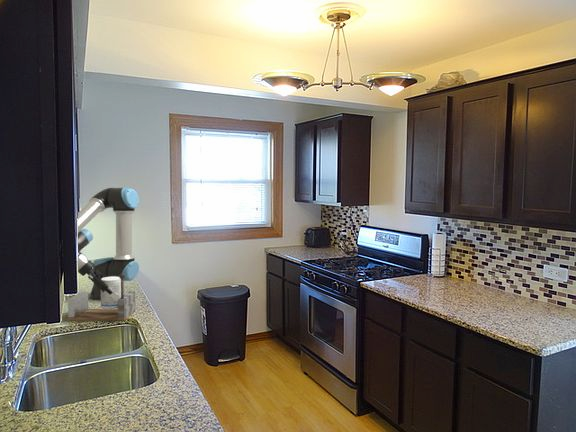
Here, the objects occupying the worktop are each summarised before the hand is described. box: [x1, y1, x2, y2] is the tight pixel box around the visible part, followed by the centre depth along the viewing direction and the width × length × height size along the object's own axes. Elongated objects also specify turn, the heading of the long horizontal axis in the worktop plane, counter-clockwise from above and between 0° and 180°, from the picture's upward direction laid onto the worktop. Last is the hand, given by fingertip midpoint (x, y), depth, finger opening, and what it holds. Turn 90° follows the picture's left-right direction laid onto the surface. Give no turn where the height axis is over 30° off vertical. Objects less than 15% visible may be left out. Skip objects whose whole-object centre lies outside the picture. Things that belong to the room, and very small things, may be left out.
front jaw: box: [67, 291, 89, 318], centre depth 207 cm, size 15×3×9 cm, turn 2°
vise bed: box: [65, 273, 136, 322], centre depth 207 cm, size 16×28×23 cm, turn 92°
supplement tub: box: [100, 276, 121, 309], centre depth 207 cm, size 10×10×15 cm
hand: (117, 295), depth 208 cm, fingers closed on supplement tub, 9 cm apart
